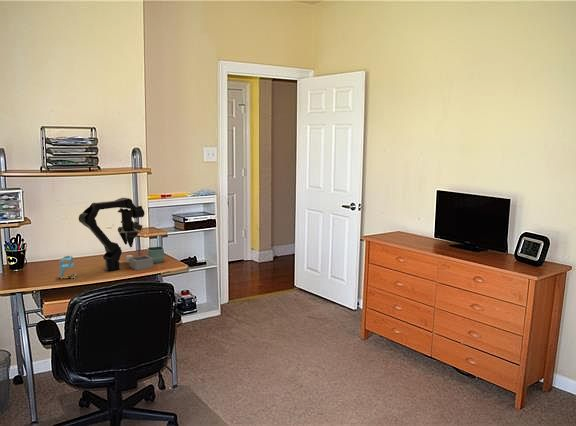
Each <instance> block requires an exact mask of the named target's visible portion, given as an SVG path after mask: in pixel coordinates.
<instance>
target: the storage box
mask: <svg viewBox="0 0 576 426" xmlns="http://www.w3.org/2000/svg"><path fill="white" fill-rule="evenodd" d="M129 267H130V268H131V269H133V270H135V271H142V270H147V269H152V268H154V263H153V258H151V257H149V255H146V254H145V255H140V256H133V257H132V258H130V263H129Z"/></svg>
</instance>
